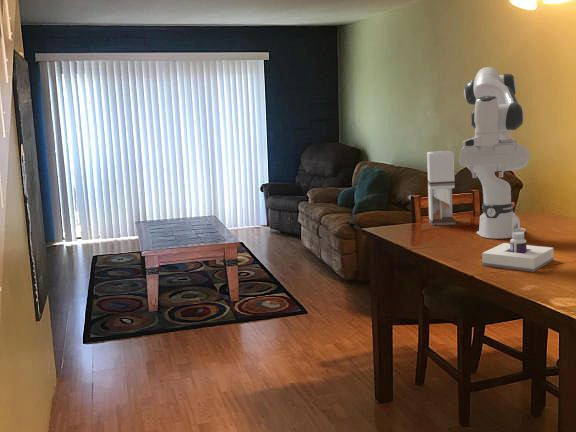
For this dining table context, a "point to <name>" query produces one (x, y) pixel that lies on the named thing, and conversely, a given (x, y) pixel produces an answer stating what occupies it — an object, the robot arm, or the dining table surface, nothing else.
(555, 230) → the dining table surface
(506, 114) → the robot arm
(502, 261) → the socket holder
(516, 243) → the pill bottle
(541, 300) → the dining table surface
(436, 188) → the white dispenser
